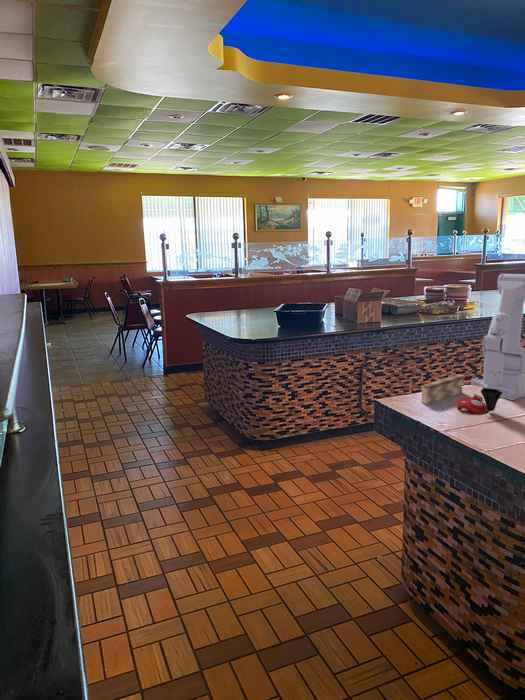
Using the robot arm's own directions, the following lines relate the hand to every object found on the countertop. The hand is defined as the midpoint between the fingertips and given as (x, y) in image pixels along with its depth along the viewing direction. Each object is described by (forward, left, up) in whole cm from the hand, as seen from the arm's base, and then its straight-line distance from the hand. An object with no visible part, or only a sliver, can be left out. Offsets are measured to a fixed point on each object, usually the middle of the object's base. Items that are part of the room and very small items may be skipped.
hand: (490, 410), depth 175 cm
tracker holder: (0, -6, -1) cm, 6 cm away
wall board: (-1, -20, -1) cm, 20 cm away
